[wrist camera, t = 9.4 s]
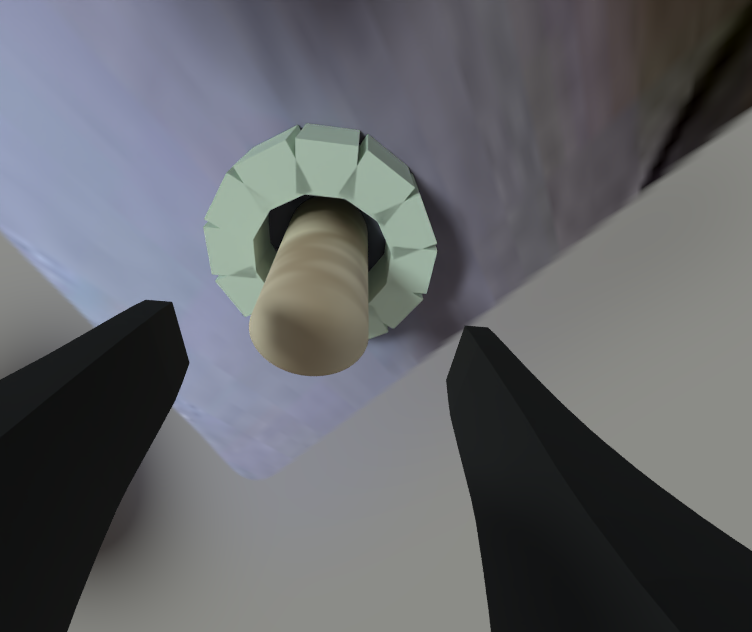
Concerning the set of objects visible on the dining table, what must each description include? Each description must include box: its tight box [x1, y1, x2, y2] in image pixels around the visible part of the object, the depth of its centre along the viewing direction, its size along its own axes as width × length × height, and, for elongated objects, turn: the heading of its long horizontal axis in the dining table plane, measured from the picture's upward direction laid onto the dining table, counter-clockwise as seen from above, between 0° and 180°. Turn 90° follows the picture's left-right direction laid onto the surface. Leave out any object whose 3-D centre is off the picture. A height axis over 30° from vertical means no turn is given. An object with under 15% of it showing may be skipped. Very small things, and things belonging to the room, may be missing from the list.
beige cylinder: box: [249, 196, 369, 376], centre depth 15 cm, size 4×4×8 cm
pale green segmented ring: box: [203, 123, 437, 339], centre depth 17 cm, size 10×10×3 cm
